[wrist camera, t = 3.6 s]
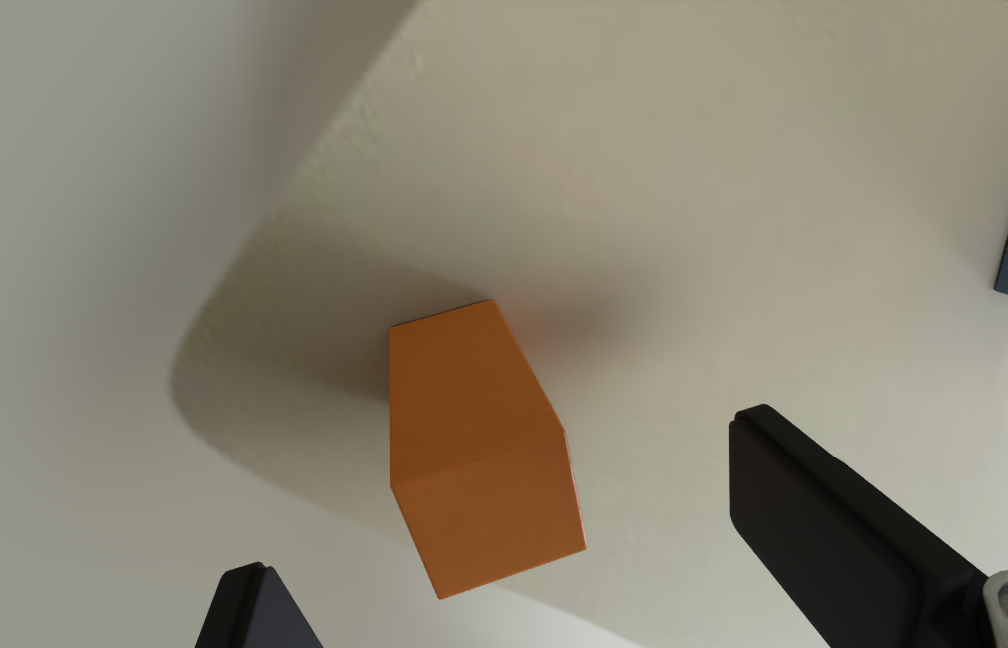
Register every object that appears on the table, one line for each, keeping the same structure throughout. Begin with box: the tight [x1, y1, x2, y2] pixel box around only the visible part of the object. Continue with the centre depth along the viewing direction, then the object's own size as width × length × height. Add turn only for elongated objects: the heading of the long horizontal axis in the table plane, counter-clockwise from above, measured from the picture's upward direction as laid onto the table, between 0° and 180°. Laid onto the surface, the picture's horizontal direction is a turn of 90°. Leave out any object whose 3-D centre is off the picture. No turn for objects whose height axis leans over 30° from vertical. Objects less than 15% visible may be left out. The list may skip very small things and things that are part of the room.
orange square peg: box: [389, 299, 587, 600], centre depth 13 cm, size 3×3×7 cm
